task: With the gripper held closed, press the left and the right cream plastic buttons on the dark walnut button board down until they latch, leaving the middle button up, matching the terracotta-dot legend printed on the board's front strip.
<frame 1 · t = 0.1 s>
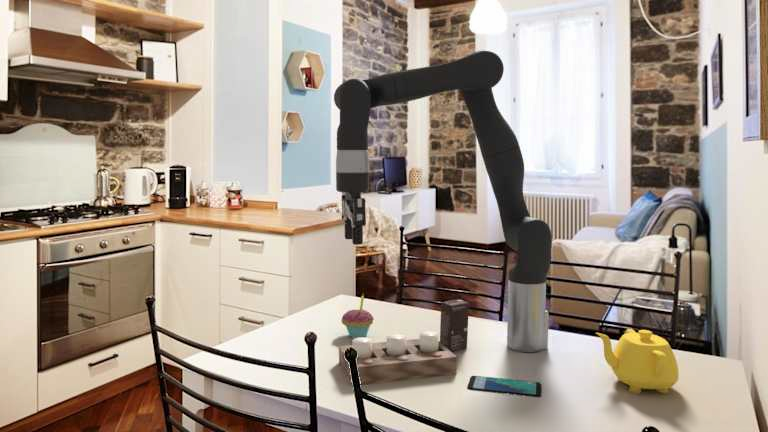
hand: (353, 241, 128), 29 cm above the table, fingers open, 8 cm apart
button b: (396, 346, 128), point 5 cm above the table, slide at 0.0 cm
box: (453, 349, 142), on the table
board: (396, 368, 129), on the table
button c: (362, 349, 126), point 5 cm above the table, slide at 0.0 cm
smartphone: (504, 389, 118), on the table
teapot: (633, 386, 119), on the table
cupcake: (357, 336, 152), on the table
button a: (429, 343, 130), point 5 cm above the table, slide at 0.0 cm
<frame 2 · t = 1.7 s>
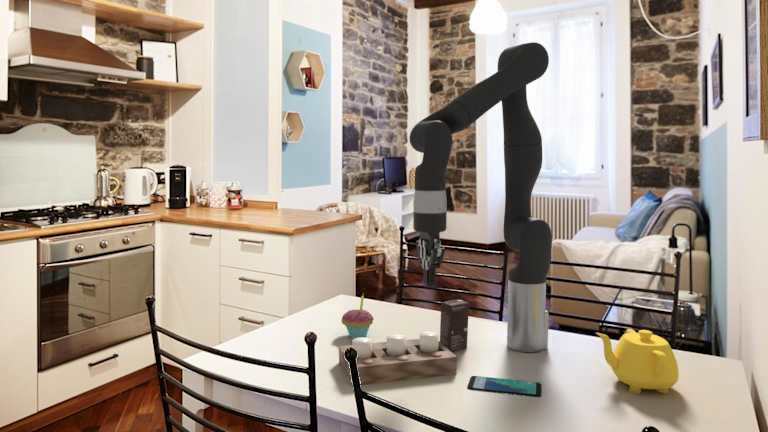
hand: (429, 284, 129), 19 cm above the table, fingers closed
nothing on the table moved.
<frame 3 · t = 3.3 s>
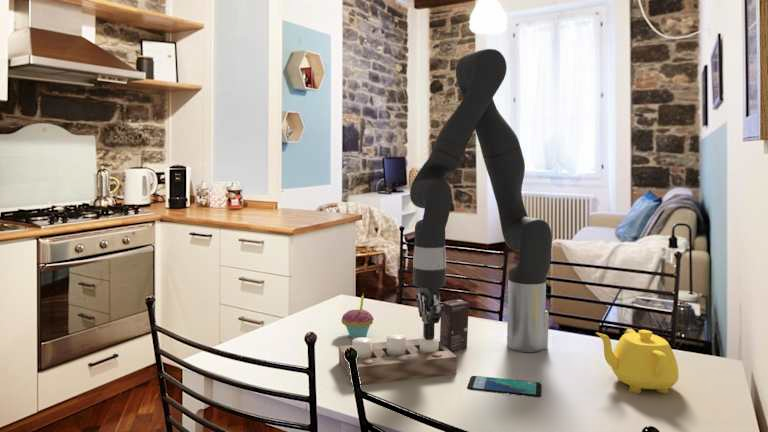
hand: (428, 338, 130), 6 cm above the table, fingers closed
button a: (429, 347, 130), point 4 cm above the table, slide at 1.0 cm, touching gripper
everything else where it was.
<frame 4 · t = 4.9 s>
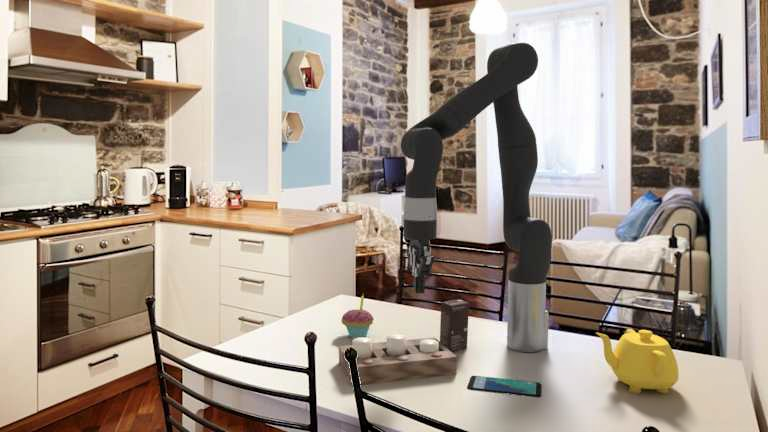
hand: (418, 292, 128), 17 cm above the table, fingers closed
button a: (429, 351, 131), point 3 cm above the table, slide at 2.0 cm
everything else where it was.
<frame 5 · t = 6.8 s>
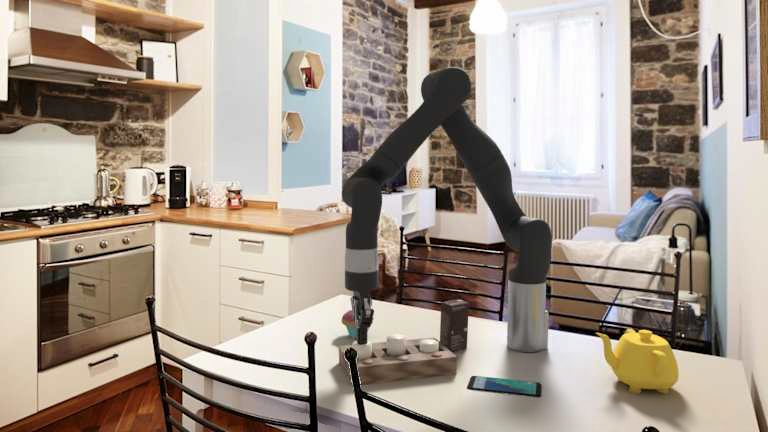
hand: (361, 343, 126), 7 cm above the table, fingers closed
button c: (362, 352, 126), point 4 cm above the table, slide at 0.7 cm, touching gripper
everything else where it was.
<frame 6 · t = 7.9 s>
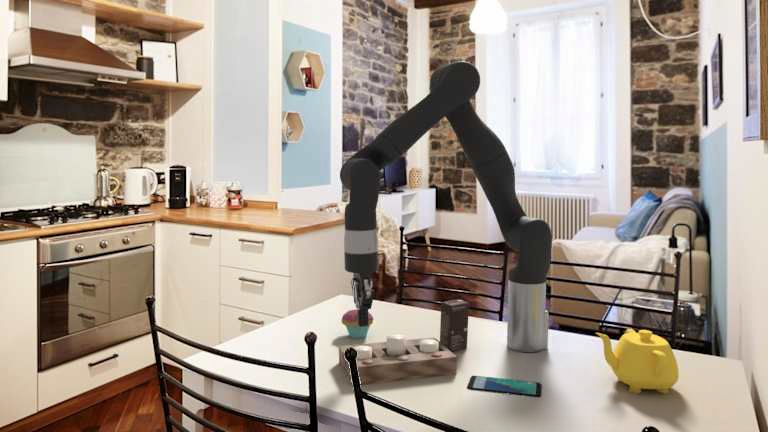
hand: (362, 325, 126), 11 cm above the table, fingers closed
button c: (362, 358, 126), point 3 cm above the table, slide at 2.0 cm
everything else where it was.
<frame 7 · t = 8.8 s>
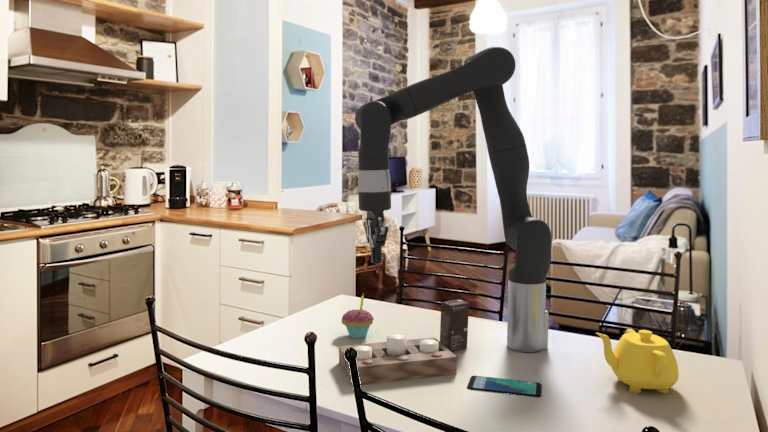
hand: (376, 263, 131), 24 cm above the table, fingers closed
nothing on the table moved.
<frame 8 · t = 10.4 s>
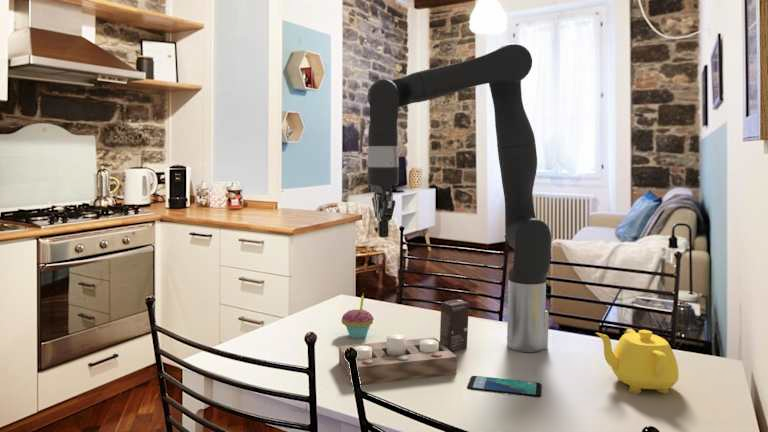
hand: (383, 236, 136), 29 cm above the table, fingers closed
nothing on the table moved.
at the end: button a slide at 2.0 cm; button c slide at 2.0 cm; button b slide at 0.0 cm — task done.
